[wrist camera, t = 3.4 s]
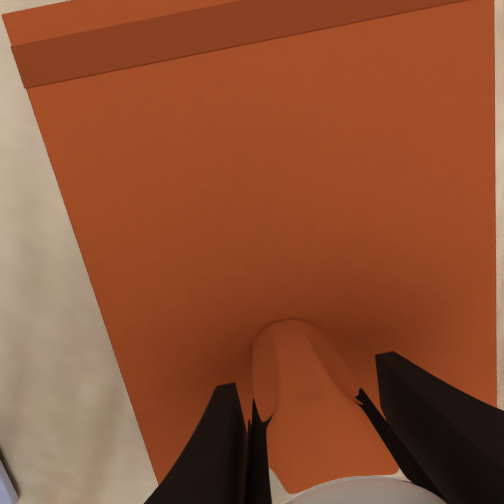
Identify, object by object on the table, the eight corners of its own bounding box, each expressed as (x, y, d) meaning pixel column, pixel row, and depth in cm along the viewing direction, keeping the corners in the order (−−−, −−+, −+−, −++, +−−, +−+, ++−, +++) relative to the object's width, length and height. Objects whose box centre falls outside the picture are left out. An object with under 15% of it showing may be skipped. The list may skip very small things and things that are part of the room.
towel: (179, 539, 18) (178, 547, 17) (6, 17, 12) (-1, 13, 11) (493, 478, 18) (498, 485, 17) (487, -80, 11) (495, -87, 11)
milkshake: (384, 336, 15) (668, 680, 5) (289, 422, 16) (388, 853, 6) (305, 262, 14) (481, 528, 4) (208, 359, 15) (175, 762, 5)
